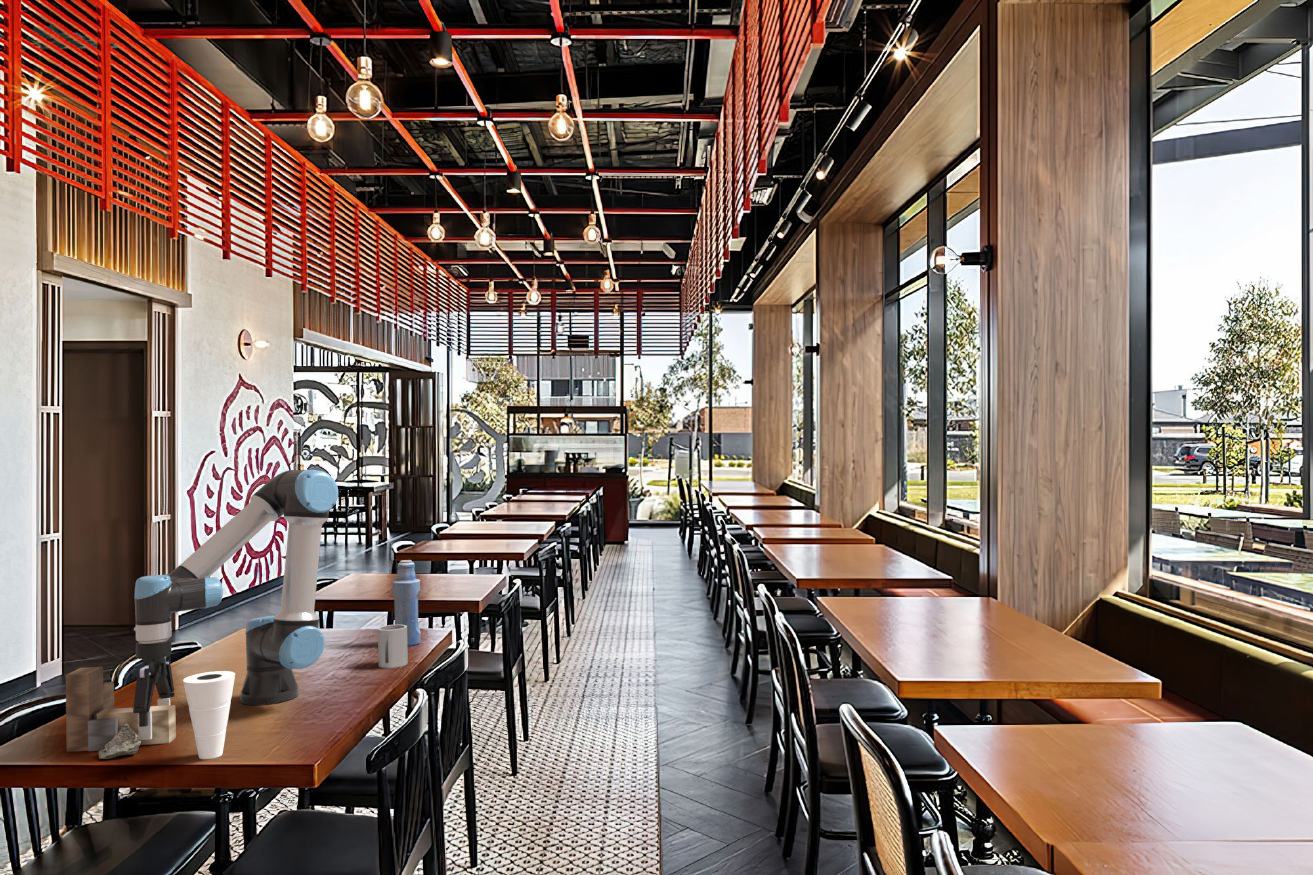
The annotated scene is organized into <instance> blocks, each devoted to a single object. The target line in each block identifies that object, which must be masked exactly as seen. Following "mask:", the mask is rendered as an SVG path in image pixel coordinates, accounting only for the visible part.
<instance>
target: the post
mask: <svg viewBox="0 0 1313 875" xmlns="http://www.w3.org/2000/svg"><path fill="white" fill-rule="evenodd" d="M102 709H115V683H114V681H109V682H106V681H105V682H104V667H103V666H91V667H89V666H88V667H79V668H77V669H76V670H74V671H71V672H69V673H67V674H66V675H65V715H66V716H65V717H66V718H65V723H66V726H65V728H66V732H65V734H66V735H65V736H66V752H67V753H68V752H69V753H70V752H71V753H73V752H85V751H88V752H99V751H100V750H102V749H103V748H104V746H105V745H106V744H107V743H109V742H110V741H111V740H112V739H113V738H114V737H115V736H116V735H117V734H118V718H112V719H97V720H94V714H95V713H97V712H99V711H100V710H102Z"/></svg>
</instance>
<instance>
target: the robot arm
mask: <svg viewBox="0 0 1313 875" xmlns="http://www.w3.org/2000/svg"><path fill="white" fill-rule="evenodd" d="M338 498H339V489H338V485H337V483H336V481H335V479H334V478H333V477H332V476H331V475H330V474H329V473H327V472H326V471H323V470H318V469H289V470H285V471H283V472H281V473H278V474H277V475H275V476H274V477H273V478H271V479H270V480H268V481H267V482H266V483H265V484H263V486H262V487H260V488H259V489H258V490H256V492H254V493H253V494H252V495H251V496H250V497H249V501H250V502H249V503H248V504H247V505H245V507H243V508H242V509H241V510H240V511H238V513H237V514H236V515H234V516H233V517H232V518H231V519H230V520H229V521H228V522H227V523H225V524H224V525H223V526H222V527H221V528H220V529H218V530H217V531H216V532H215V533H214V534H213V535H211V536H210V538H209V539H207V540H206V541H205V542H204V543H203V544H202V545H201V546H199V547H198V549H196V550H195V551H194V552H193V553H192V554H190V555H189V556H188V557H186V559H185V560H183V562H182V563H180V564H179V565H178V566H177V567H175V568H174V569H173V570H172V571H171V572H170V573H166V574H155V575H146V576H141V577H139V578H137V579H136V581H135V585H134V586H135V587H134V595H133V596H134V607H135V608H134V610H135V626H134V628H133V631H134V632H135V641H137V642H136V644H135V657H136V658H137V659H139V660H142V661H143V662H142V667H141V668H137V669H136V672H135V673H136V674H135V675H136V676H135V677H136V682H135V693H134V699H133V713H138V736H139V738H140V740H149V739H152V711H150V706H152V701H153V695H154V692H155V691H154V690H155V688H156V691H157V695H158V697H159V698H157V700H156V701H157V705H156V706H166V705H171V698H174V697H175V686H174V678H173V673H172V672H173V671H172V666H171V664H172V663H171V662H172V661H171V660H172V659H171V658H172V657H171V656H170V655H171V654H172V640H171V637H172V636H173V635H172V614H173V613H178V612H179V613H180V612H185V611H192V610H199V609H207V608H212V607H216V606H218V605H220V604H221V602H222V599H223V596H224V592H223V591H224V590H223V585H222V583H221V581H220V579H219V578H218V577H215V576H213V574H215V573H216V572H217V571H218V570H219V569H220V568H221V567H222V566H223V565H224V564H225V563H226V562H228V561H229V559H231V558H232V557H233V556H234V555H235V554H236V553H237V552H238V551H240V550H241V549H242V548H243V547H244V546H245V545H246V544H247V543H248V542H249V541H250V540H252V539H253V537H255V536H256V535H257V534H258V533H259V532H261V530H262V529H263V528H265V527H266V526H267V525H268V524H269V523H270V522H277V521H278V520H279V519H280V518H281V517H283V518H284V519H285V521H286V522H287V523H288V529H287V530H288V531H287V538H286V539H287V541H286V548H285V549H286V552H285V561H284V562H285V563H284V572H283V583H282V592H281V594H282V595H281V603H280V611H279V612H278V613H277V614H276V615H267V616H262V617H260V616H259V617H257V618H251V619H249V620H248V621H247V622H246V624H245V625H246V626H245V634H244V635H245V647H246V648H245V649H246V651H245V652H246V674H245V678H244V681H243V684H242V687H241V690H240V694H239V701H240V703H241V704H244V705H249V706H251V705H252V706H261V705H262V706H263V705H264V706H265V705H271V704H277V703H282V702H286V701H290V700H292V699H295V698H297V697H298V696H299V685H298V682H297V679H296V676H295V674H294V670H303V669H307V668H310V667H312V666H313V665H314V664H315V663H316V662H317V661H318V660H320V658H321V656H322V654H323V653H324V650H325V646H326V639H325V636H324V633H323V632H322V630H320V629H319V627H320V626H319V625H320V616H318V614H317V613H316V612H315V604H316V596H317V595H316V593H317V583H318V573H319V572H318V570H319V561H320V559H319V558H320V548H321V538H322V528H323V525H324V524H325V523H326V522H327V521H328V520H329V515H330V514H329V513H330V510H331V509H332V508H333V507H334V506H335V505H336V503H337V501H338ZM211 576H213V577H211Z"/></svg>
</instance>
